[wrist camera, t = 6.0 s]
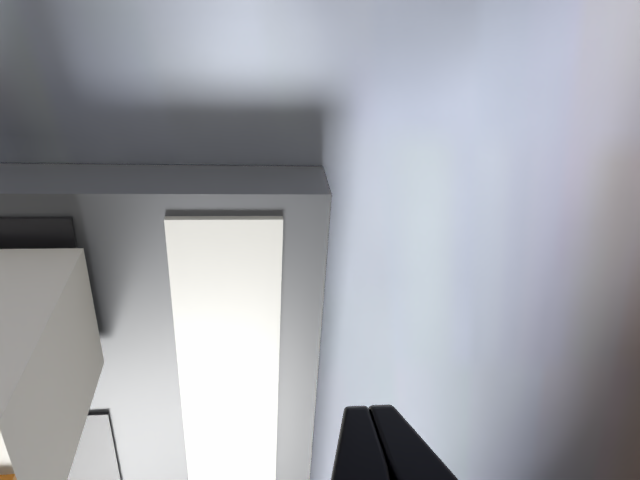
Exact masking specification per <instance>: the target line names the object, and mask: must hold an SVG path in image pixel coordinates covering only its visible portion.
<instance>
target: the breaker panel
mask: <svg viewBox="0 0 640 480" xmlns="http://www.w3.org/2000/svg"><path fill="white" fill-rule="evenodd" d="M331 197H332V194H331V191H330V188H329V184H328V181H327V178H326V175H325V172H324V168H323V166H236V165H131V164H27V163H0V249H55V248H84V254H85V259H86V265H87V270H88V276H89V281H90V287H91V292H92V298H93V303H94V308H95V314H96V319H97V325H98V330H99V336H100V341H101V347H102V352H103V358H104V365H103V368H102V371H101V374H100V377H99V381H98V384H97V387H96V390H95V393H94V396H93V400H92V403H91V406H90V409H89V412H88V415H87V419H86V422H85V425H84V428H83V431H82V434H81V438H80V441H79V444H78V447H77V450H76V453H75V457H74V460H73V463H72V466H71V469H70V472H69V476H68V479H67V480H310V468H311V456H312V443H313V430H314V417H315V404H316V391H317V378H318V365H319V352H320V339H321V326H322V313H323V300H324V288H325V275H326V262H327V249H328V236H329V223H330V210H331Z"/></svg>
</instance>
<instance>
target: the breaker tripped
mask: <svg viewBox="0 0 640 480" xmlns="http://www.w3.org/2000/svg"><path fill="white" fill-rule="evenodd" d="M103 365H104V358H103V352H102V347H101V341H100V336H99V330H98V325H97V319H96V314H95V308H94V303H93V298H92V292H91V287H90V281H89V276H88V270H87V265H86V259H85V254H84V248H55V249H0V480H67V479H68V476H69V472H70V469H71V466H72V463H73V460H74V457H75V453H76V450H77V447H78V444H79V441H80V438H81V434H82V431H83V428H84V425H85V422H86V419H87V415H88V412H89V409H90V406H91V403H92V400H93V396H94V393H95V390H96V387H97V384H98V381H99V377H100V374H101V371H102V368H103Z"/></svg>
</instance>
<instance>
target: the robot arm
mask: <svg viewBox="0 0 640 480" xmlns="http://www.w3.org/2000/svg"><path fill="white" fill-rule="evenodd" d="M331 480H458V479H457V478H456V477H455V475H454V474H453V473H452V472H451V471H450V470H449V469H448V468H447V466H446V465H445V464H444V463H443V462H442V461H441V460H440V458H439V457H438V456H437V455H436V454H435V453H434V452H433V451H432V449H431V448H430V447H429V446H428V445H427V444H426V443H425V441H424V440H423V439H422V438H421V437H420V436H419V435H418V434H417V432H416V431H415V430H414V429H413V428H412V427H411V426H410V424H409V423H408V422H407V421H406V420H405V419H404V418H403V417H402V415H401V414H400V413H399V412H398V411H397V410H396V409H395V408H394V407H393V406H392V405H372V406H370V407H369V408H368V407H366V406H348V407H346V408H345V409H344V413H343V418H342V424H341V429H340V434H339V440H338V445H337V450H336V455H335V461H334V466H333V471H332V477H331Z"/></svg>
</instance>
